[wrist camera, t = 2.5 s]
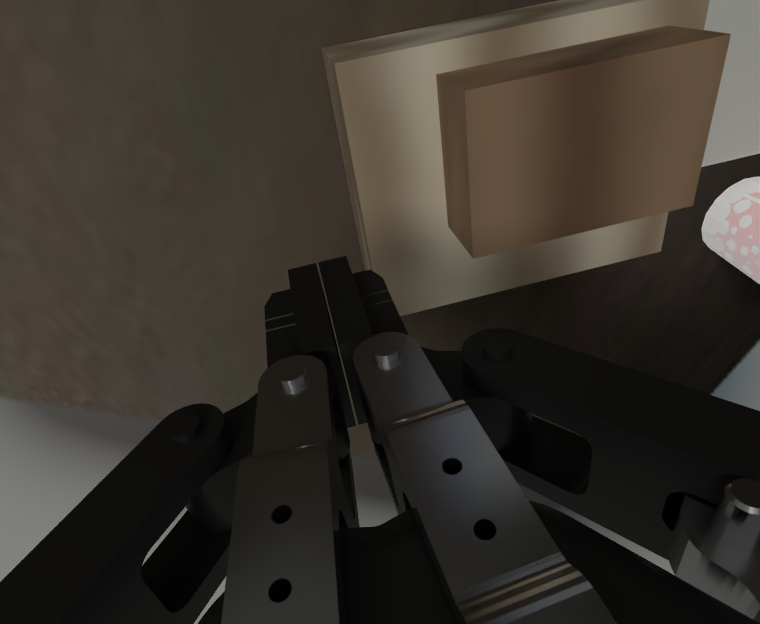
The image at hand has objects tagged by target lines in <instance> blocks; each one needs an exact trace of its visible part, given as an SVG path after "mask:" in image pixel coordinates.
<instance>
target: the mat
mask: <svg viewBox="0 0 760 624" xmlns="http://www.w3.org/2000/svg"><path fill="white" fill-rule="evenodd" d="M704 30H707V31H714V32H721V33H728V34H731V37H730V41H729V46H728V50H727V55H726V59H725V63H724V68H723V72H722V77H721V81H720V86H719V90H718V95H717V99H716V104H715V108H714V113H713V117H712V122H711V126H710V131H709V135H708V140H707V144H706V149H705V153H704V157H703V162H702V166H701V167H704V166H708V165H712V164H716V163H721V162H725V161H729V160H733V159H738V158H742V157H746V156H750V155H755V154H759V153H760V0H710V1H709V6H708V11H707V16H706V22H705V27H704Z"/></svg>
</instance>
